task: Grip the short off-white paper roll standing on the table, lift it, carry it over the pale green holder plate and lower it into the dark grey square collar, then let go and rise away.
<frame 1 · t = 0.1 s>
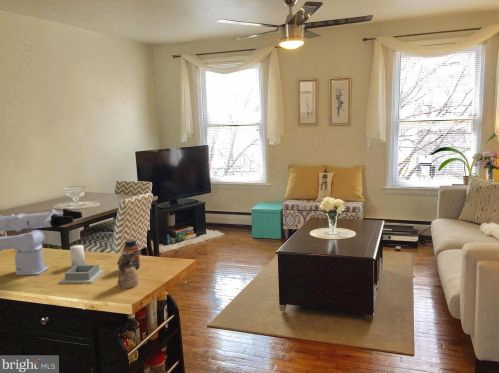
hand: (77, 217, 164), 22 cm above the table, tool horizontal, fingers open, 7 cm apart
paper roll: (78, 266, 174), on the table
figurine: (128, 285, 153), on the table
supplement bottle: (132, 268, 170), on the table
cup holder: (82, 276, 162), on the table
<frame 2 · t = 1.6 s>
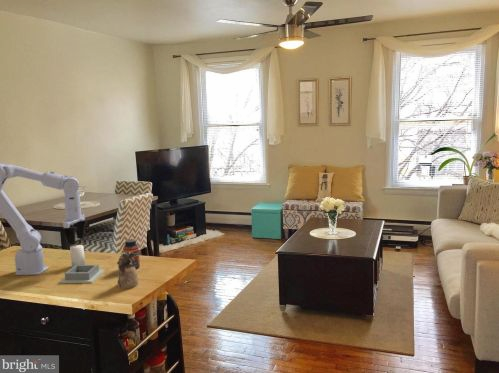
hand: (76, 241, 172), 10 cm above the table, tool pointing down, fingers open, 7 cm apart
nothing on the table moved.
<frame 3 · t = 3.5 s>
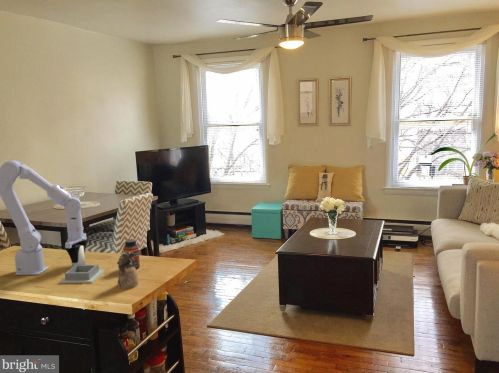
hand: (78, 260, 173), 2 cm above the table, tool pointing down, fingers closed on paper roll, 5 cm apart
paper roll: (78, 265, 174), on the table, touching gripper
everything else where it was.
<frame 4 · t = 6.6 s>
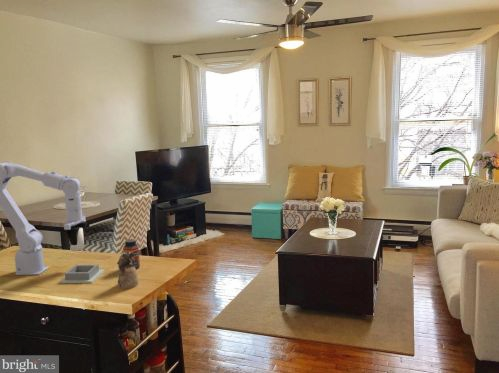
hand: (77, 242, 170), 10 cm above the table, tool pointing down, fingers closed on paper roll, 5 cm apart
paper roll: (77, 248, 170), point 8 cm above the table, touching gripper
everything else where it was.
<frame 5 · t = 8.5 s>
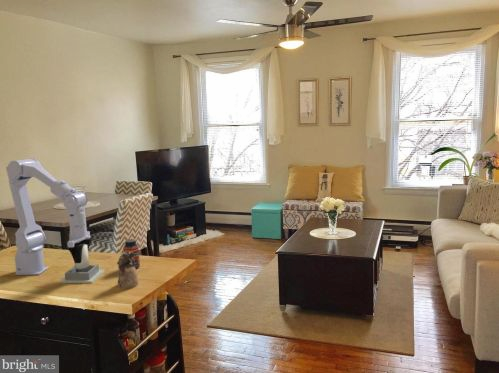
hand: (81, 260, 161), 6 cm above the table, tool pointing down, fingers closed on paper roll, 5 cm apart
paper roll: (82, 266, 161), point 4 cm above the table, touching gripper
everything else where it was.
when the fingers open (4 cm above the table, at t = 10.0 s): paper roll stays where it is, resting on cup holder.
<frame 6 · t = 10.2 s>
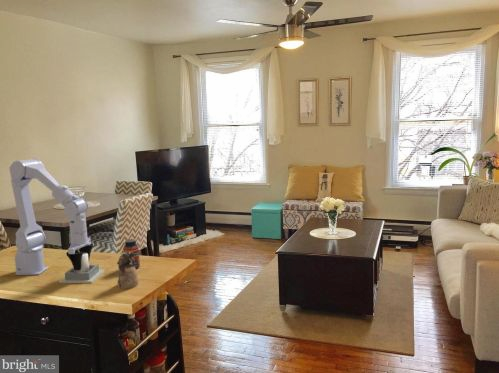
hand: (81, 266, 161), 4 cm above the table, tool pointing down, fingers open, 6 cm apart
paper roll: (82, 275, 161), point 1 cm above the table, touching cup holder
everything else where it was.
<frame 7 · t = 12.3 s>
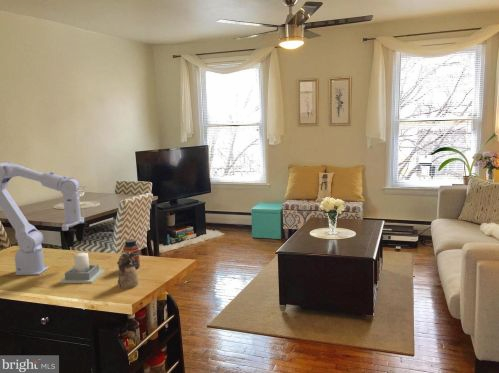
hand: (75, 243, 169), 10 cm above the table, tool pointing down, fingers open, 7 cm apart
nothing on the table moved.
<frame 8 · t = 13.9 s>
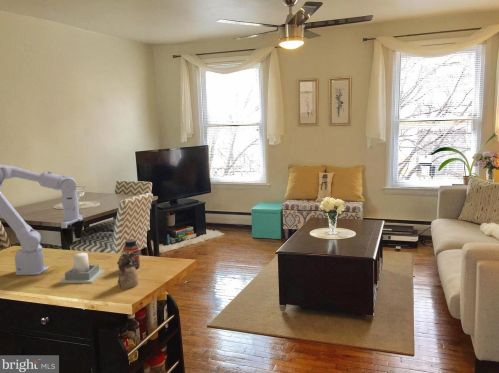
hand: (74, 241, 172), 10 cm above the table, tool pointing down, fingers open, 7 cm apart
nothing on the table moved.
at the end: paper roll 0.0 cm off-centre on the cup holder, point 0.7 cm above the cup holder's base; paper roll tilted 1°; the gripper is holding nothing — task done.
